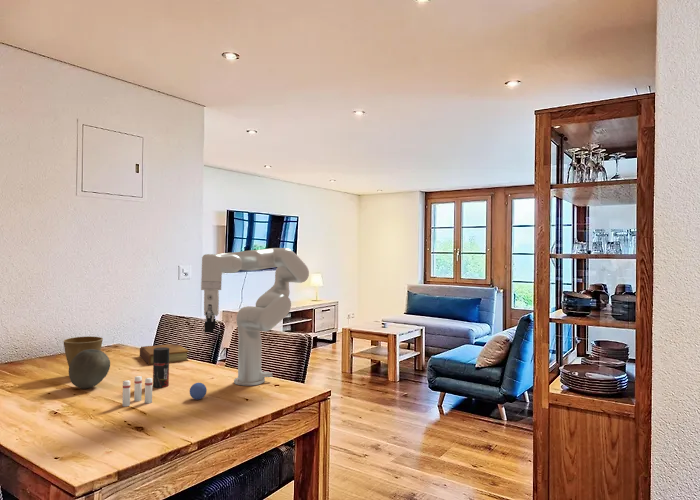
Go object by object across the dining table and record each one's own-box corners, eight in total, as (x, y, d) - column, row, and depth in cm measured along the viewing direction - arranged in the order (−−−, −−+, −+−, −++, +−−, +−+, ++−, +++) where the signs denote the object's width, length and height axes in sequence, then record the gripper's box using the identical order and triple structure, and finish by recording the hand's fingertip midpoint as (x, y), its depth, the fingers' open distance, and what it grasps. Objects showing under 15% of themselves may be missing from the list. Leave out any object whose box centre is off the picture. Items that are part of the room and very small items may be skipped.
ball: (206, 396, 182) (206, 380, 182) (206, 401, 176) (206, 384, 176) (189, 397, 180) (190, 381, 180) (189, 402, 175) (189, 385, 175)
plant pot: (54, 378, 205) (55, 340, 205) (85, 370, 219) (86, 335, 219) (79, 382, 200) (80, 343, 200) (109, 374, 213) (110, 337, 214)
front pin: (152, 401, 175) (152, 377, 175) (151, 403, 173) (152, 379, 173) (145, 401, 175) (145, 378, 175) (144, 403, 172) (144, 379, 172)
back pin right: (142, 399, 178) (142, 375, 178) (141, 401, 175) (141, 377, 175) (134, 399, 177) (135, 376, 177) (133, 401, 174) (133, 377, 175)
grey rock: (81, 394, 182) (81, 354, 182) (61, 388, 190) (62, 350, 190) (116, 386, 194) (117, 348, 194) (96, 381, 202) (97, 345, 202)
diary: (139, 357, 251) (139, 346, 251) (176, 354, 261) (176, 343, 261) (148, 366, 232) (148, 354, 232) (188, 361, 242) (188, 350, 242)
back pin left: (130, 404, 171) (131, 380, 172) (129, 406, 169) (129, 381, 169) (122, 404, 171) (123, 380, 171) (121, 406, 168) (122, 382, 168)
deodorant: (163, 388, 192) (163, 350, 192) (149, 387, 193) (150, 349, 193) (171, 384, 198) (172, 347, 198) (158, 383, 199) (159, 347, 199)
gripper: (220, 287, 179) (218, 333, 179) (222, 285, 196) (221, 327, 196) (199, 287, 178) (197, 334, 177) (203, 284, 195) (202, 327, 194)
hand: (210, 330), depth 187 cm, fingers open, 9 cm apart
